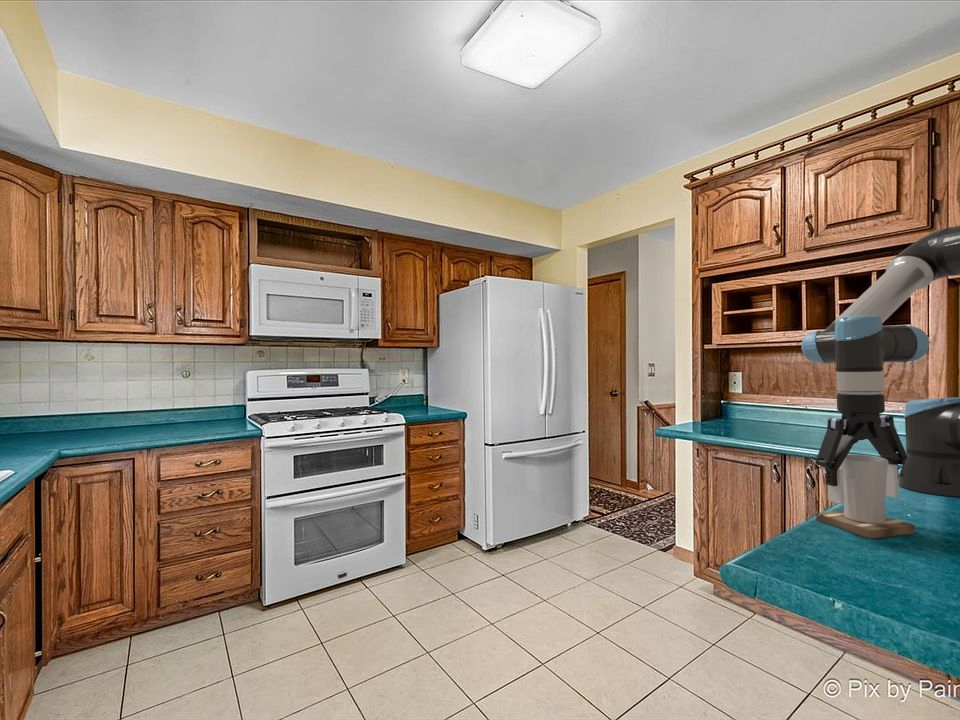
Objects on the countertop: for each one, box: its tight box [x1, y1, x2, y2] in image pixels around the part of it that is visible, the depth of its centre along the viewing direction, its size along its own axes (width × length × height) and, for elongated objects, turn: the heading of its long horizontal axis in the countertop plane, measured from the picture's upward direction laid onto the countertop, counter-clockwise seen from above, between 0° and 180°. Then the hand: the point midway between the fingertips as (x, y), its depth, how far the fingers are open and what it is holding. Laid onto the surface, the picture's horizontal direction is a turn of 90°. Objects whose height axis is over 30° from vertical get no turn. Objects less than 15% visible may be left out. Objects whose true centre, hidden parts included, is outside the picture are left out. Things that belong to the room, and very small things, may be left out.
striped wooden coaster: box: [815, 509, 916, 540], centre depth 96 cm, size 11×11×2 cm
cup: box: [839, 453, 888, 523], centre depth 96 cm, size 8×8×12 cm
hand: (863, 499), depth 96 cm, fingers open, 13 cm apart
